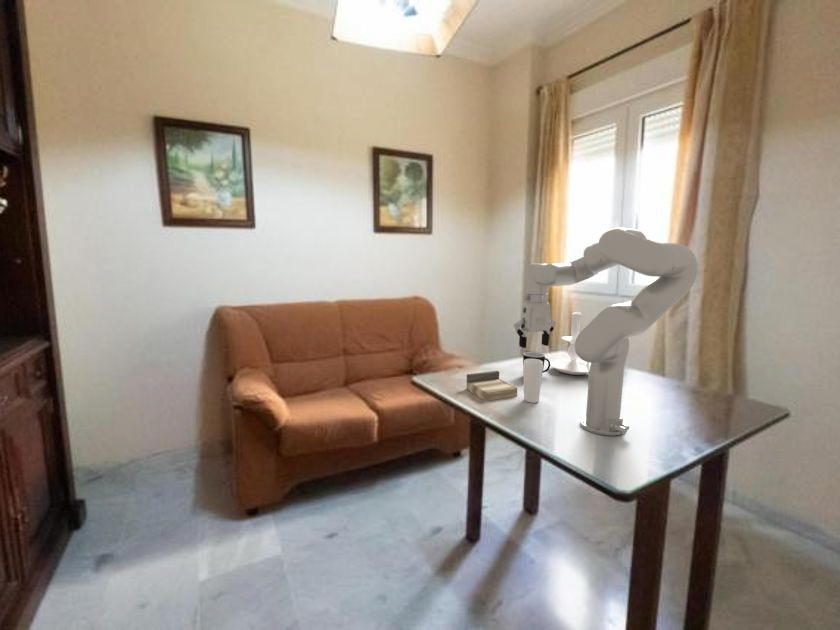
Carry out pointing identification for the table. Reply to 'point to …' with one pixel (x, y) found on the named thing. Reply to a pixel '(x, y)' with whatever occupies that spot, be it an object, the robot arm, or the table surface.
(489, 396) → the dock
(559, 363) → the candlestick
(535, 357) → the mug
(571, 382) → the table surface
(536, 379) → the white tapered cup
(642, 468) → the table surface
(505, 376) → the table surface
